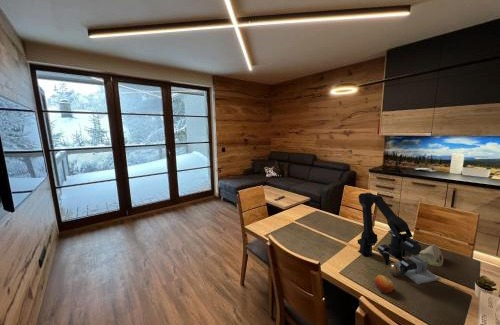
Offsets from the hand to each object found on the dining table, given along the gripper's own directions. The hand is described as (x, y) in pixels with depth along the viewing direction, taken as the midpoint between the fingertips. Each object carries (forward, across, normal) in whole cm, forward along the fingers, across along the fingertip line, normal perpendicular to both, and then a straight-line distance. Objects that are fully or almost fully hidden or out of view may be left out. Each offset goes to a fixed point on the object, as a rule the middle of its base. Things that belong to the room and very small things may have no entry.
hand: (394, 270), depth 112 cm
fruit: (+3, -7, +14) cm, 16 cm away
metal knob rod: (+2, 0, -7) cm, 7 cm away
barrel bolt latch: (+3, 0, -14) cm, 14 cm away
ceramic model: (+4, +6, -34) cm, 34 cm away
